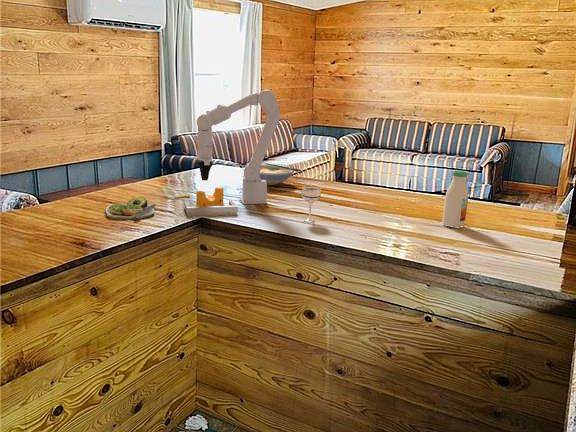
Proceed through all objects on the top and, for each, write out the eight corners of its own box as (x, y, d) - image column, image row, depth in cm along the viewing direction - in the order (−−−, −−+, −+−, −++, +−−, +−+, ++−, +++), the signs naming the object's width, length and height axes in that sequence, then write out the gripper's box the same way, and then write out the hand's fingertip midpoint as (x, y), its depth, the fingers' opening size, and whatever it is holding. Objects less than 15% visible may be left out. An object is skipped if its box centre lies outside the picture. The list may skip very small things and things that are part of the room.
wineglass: (309, 217, 192) (311, 184, 189) (323, 221, 187) (325, 188, 184) (296, 220, 187) (297, 187, 184) (310, 224, 183) (311, 190, 179)
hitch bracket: (231, 206, 201) (232, 199, 201) (237, 214, 191) (237, 206, 190) (184, 207, 197) (184, 200, 196) (187, 216, 186) (187, 208, 185)
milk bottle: (452, 229, 184) (460, 173, 178) (437, 224, 190) (444, 169, 185) (468, 227, 187) (476, 172, 182) (453, 222, 194) (460, 168, 189)
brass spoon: (188, 196, 215) (188, 194, 215) (191, 197, 213) (191, 195, 213) (173, 197, 211) (173, 195, 211) (176, 199, 210) (176, 197, 209)
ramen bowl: (232, 182, 245) (233, 164, 243) (269, 177, 260) (270, 160, 258) (267, 192, 227) (268, 173, 225) (305, 186, 242) (306, 168, 240)
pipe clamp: (215, 202, 208) (215, 186, 206) (223, 204, 205) (223, 187, 204) (193, 207, 198) (193, 190, 197) (201, 209, 196) (201, 192, 194)
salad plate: (161, 221, 180) (161, 208, 179) (106, 224, 174) (105, 210, 173) (155, 207, 197) (155, 195, 196) (105, 209, 192) (104, 197, 190)
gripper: (192, 142, 209) (192, 176, 213) (196, 148, 196) (196, 184, 199) (210, 143, 211) (209, 176, 215) (215, 148, 198) (215, 183, 201)
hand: (204, 180), depth 207 cm, fingers closed
